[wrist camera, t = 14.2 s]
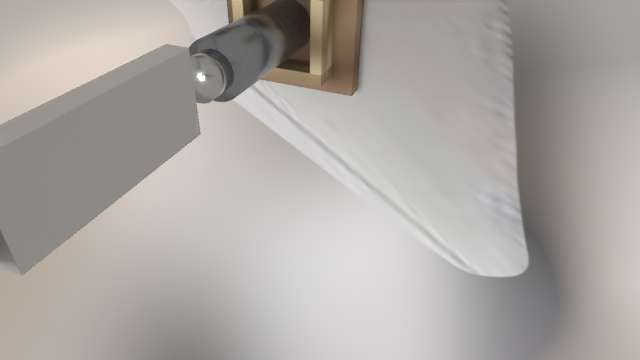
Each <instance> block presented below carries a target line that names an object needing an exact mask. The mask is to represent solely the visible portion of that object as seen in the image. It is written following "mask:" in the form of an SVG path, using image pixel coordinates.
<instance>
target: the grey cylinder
mask: <svg viewBox="0 0 640 360" xmlns="http://www.w3.org/2000/svg"><path fill="white" fill-rule="evenodd" d="M309 39H310V16H309V14H308V12H307V10H306V9H305V8H304V7H303V6H302V5H301V4H300V3H299V2H297V1H295V0H276V1H274V2H272V3H270V4H268V5H266V6H264V7H262V8H260V9H258V10H256V11H254V12H252V13H250V14H248V15H246V16H244V17H242V18H240V19H238V20H236V21H234V22H232V23H230V24H228V25H226V26H224V27H222V28H220V29H218V30H216V31H214V32H212V33H210V34H208V35H206V36H204V37H202V38H200V39H198V40H196V41H195V42H194V43H193V44H192V45H191V46H190V47H189V53H190V60H191V68H192V75H193V82H194V90H195V97H196V102H198V103H209V102H211V101H212V100H214V101H218V102H226V101H230V100H232V99H234V98H235V97H236V96H238V95H239V94H240V93H242V92H243V91H244V90H246V89H247V88H249V87H250V86H251V85H253V84H254V83H255V82H257V81H258V80H259V79H261V78H262V77H263V76H265V75H266V74H267V73H269V72H270V71H271V70H273V69H274V68H275V67H277V66H278V65H279V64H281V63H282V62H283V61H285V60H286V59H287V58H289V57H290V56H291V55H293V54H294V53H295V52H297V51H298V50H299V49H301V48H302V47H303V46H305V45H306V44H307V42H308V41H309Z"/></svg>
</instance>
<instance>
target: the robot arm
mask: <svg viewBox="0 0 640 360" xmlns="http://www.w3.org/2000/svg"><path fill="white" fill-rule="evenodd" d="M199 135H200V127H199V119H198V112H197V104H196V97H195V90H194V82H193V75H192V68H191V60H190V53H189V48H186V47H180V46H174V45H168V44H166V45H164V46H161V47H159V48H157V49H155V50H153V51H151V52H149V53H147V54H145V55H143V56H141V57H139V58H137V59H135V60H133V61H130V62H129V63H126V64H124V65H122V66H120V67H118V68H116V69H114V70H112V71H110V72H108V73H106V74H104V75H102V76H100V77H98V78H96V79H94V80H92V81H90V82H87V83H86V84H83V85H81V86H79V87H77V88H75V89H73V90H71V91H69V92H67V93H65V94H63V95H61V96H59V97H57V98H55V99H52V100H50V101H49V102H46V103H44V104H42V105H40V106H38V107H36V108H34V109H32V110H30V111H28V112H26V113H24V114H22V115H20V116H18V117H16V118H13V119H12V120H9V121H8V122H5V123H3V124H1V125H0V268H2V269H5V270H8V271H10V272H13V273H15V274H18V275H21V276H22V275H23V274H25V273H26V272H27V271H29V270H30V269H31V268H32V267H33V266H35V265H36V264H37V263H39V262H40V261H41V260H42V259H44V258H45V257H46V256H47V255H49V254H50V253H51V252H52V251H53V250H55V249H56V248H57V247H59V246H60V245H61V244H63V243H64V242H65V241H66V240H68V239H69V238H70V237H71V236H73V235H74V234H75V233H76V232H78V231H79V230H80V229H81V228H83V227H84V226H85V225H87V224H88V223H89V222H90V221H92V220H93V219H94V218H95V217H97V216H98V215H99V214H100V213H102V212H103V211H104V210H105V209H107V208H108V207H109V206H110V205H112V204H113V203H114V202H115V201H117V200H118V199H119V198H121V197H122V196H123V195H124V194H126V193H127V192H128V191H129V190H131V189H132V188H133V187H134V186H136V185H137V184H138V183H139V182H141V181H142V180H143V179H144V178H146V177H147V176H148V175H149V174H151V173H152V172H153V171H154V170H156V169H157V168H158V167H159V166H161V165H162V164H163V163H165V162H166V161H167V160H168V159H170V158H171V157H172V156H173V155H175V154H176V153H177V152H179V151H180V150H181V149H182V148H184V147H185V146H186V145H187V144H189V143H190V142H191V141H192V140H194V139H195V138H196V137H197V136H199Z"/></svg>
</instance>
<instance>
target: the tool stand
mask: <svg viewBox="0 0 640 360" xmlns="http://www.w3.org/2000/svg"><path fill="white" fill-rule="evenodd" d="M274 1H276V0H227V6H228V18H229V24H230V23H232V22H234V21H236V20H238V19H240V18H242V17H244V16H246V15H248V14H250V13H252V12H254V11H256V10H258V9H260V8H262V7H264V6H266V5H268V4H270V3H272V2H274ZM295 1H297V2H299V3H300V4H301V5H302V6H303V7H304V8H305V9H306V10H307V12H308V14H309V16H310V39H309V41H308V42H307V44H306V45H305V46H303V47H302V48H301V49H299V50H298V51H297V52H295V53H294V54H293V55H291V56H290V57H289V58H287V59H286V60H285V61H283V62H282V63H281V64H279V65H278V66H277V67H275V68H274V69H273V70H271V71H270V72H269V73H267V74H266V75H265V76H263V77H262V78H261V80H266V81H272V82H277V83H283V84H288V85H294V86H300V87H305V88H311V89H316V90H322V91H328V92H333V93H339V94H344V95H350V96H352V95H353V94H354V92H355V91H356V90H357V80H358V65H359V50H360V35H361V20H362V5H363V0H295Z"/></svg>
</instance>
